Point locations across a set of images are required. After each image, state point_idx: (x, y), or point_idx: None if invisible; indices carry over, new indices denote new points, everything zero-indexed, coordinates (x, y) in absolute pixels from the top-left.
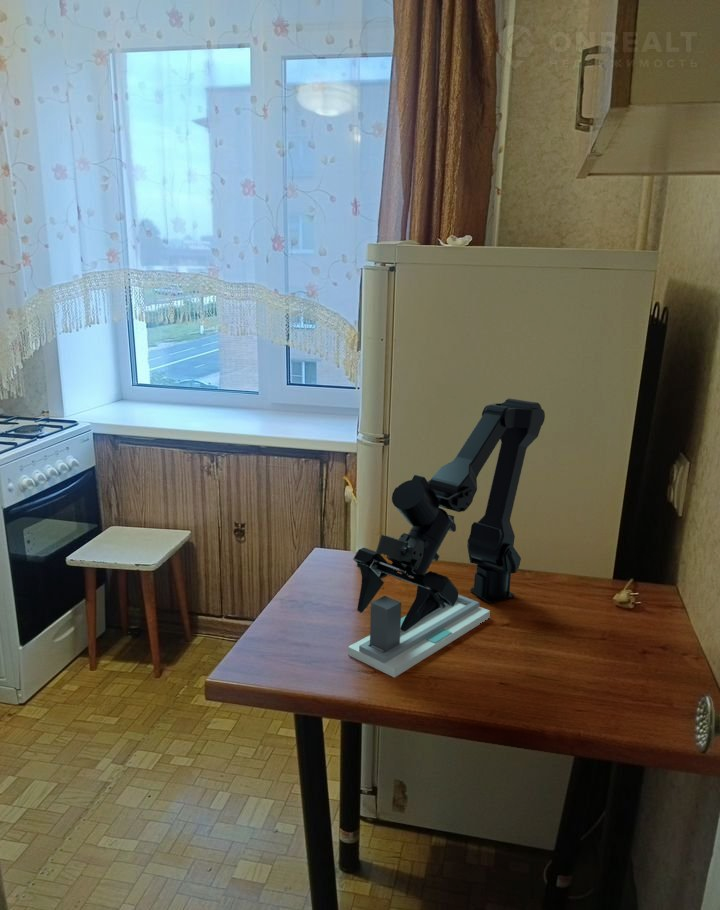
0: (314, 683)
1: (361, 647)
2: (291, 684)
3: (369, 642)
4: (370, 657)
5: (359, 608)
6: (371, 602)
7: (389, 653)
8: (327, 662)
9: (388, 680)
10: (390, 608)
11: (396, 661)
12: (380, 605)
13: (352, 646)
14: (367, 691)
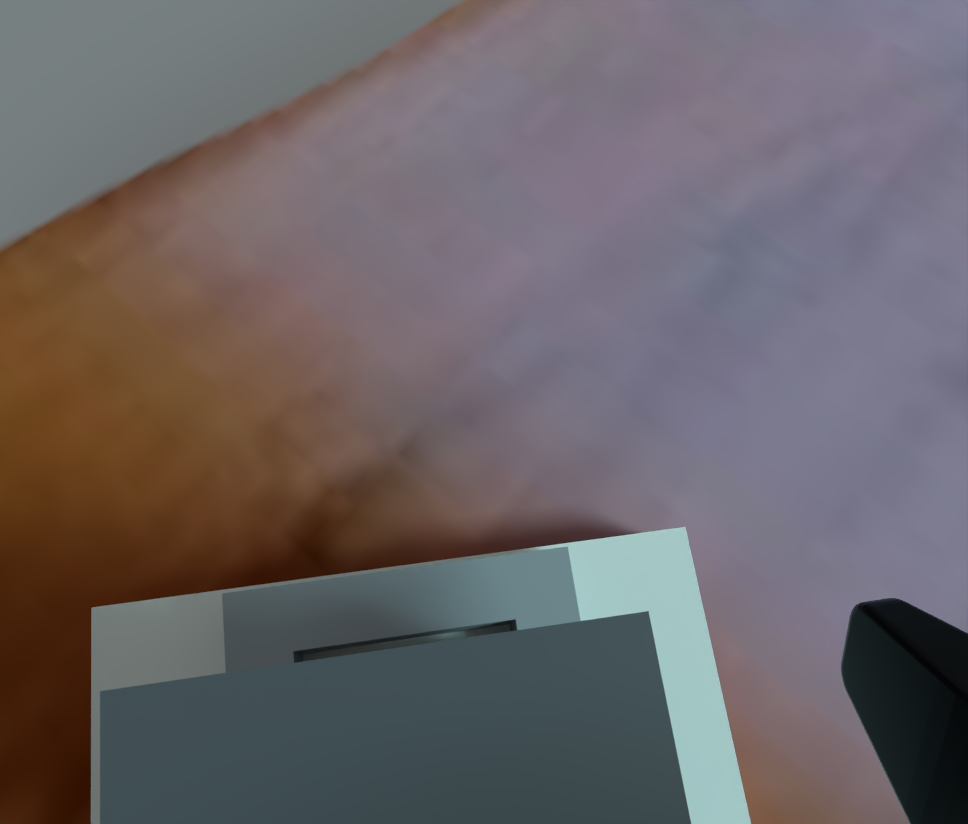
0: (483, 123)
1: (538, 553)
2: (565, 22)
3: None
4: (404, 567)
5: (878, 618)
6: (646, 624)
7: None
8: (659, 344)
9: (134, 547)
10: (111, 822)
11: None
12: (382, 694)
13: (664, 561)
14: (150, 320)
